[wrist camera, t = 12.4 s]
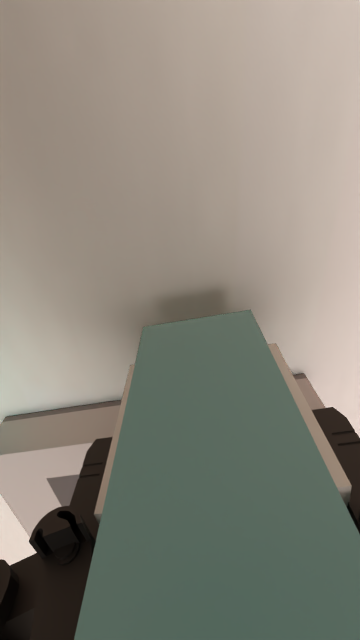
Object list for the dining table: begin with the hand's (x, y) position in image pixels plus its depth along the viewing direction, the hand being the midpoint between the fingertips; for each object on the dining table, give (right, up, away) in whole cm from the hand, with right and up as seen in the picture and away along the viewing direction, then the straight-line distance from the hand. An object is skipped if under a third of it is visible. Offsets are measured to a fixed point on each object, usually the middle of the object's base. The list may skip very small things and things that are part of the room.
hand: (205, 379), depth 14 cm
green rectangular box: (0, +1, +1) cm, 1 cm away
